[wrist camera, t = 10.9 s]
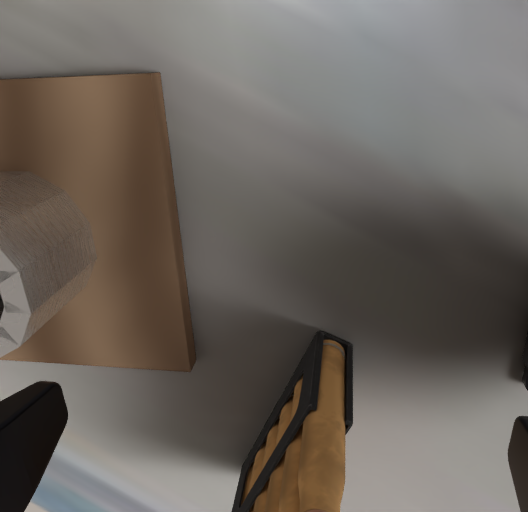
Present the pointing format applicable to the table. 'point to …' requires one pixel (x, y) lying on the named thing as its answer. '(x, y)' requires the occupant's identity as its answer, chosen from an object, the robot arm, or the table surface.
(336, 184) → the table surface
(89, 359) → the post base
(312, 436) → the ammunition clip
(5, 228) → the tube
